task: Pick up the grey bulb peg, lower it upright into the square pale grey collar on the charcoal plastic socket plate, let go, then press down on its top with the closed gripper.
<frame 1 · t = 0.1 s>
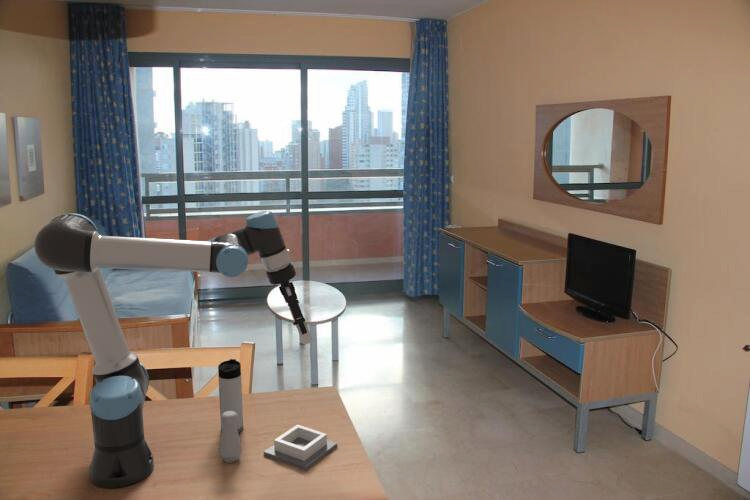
hand: (304, 334, 180), 28 cm above the table, tool tilted 20°, fingers open, 13 cm apart
grey bulb peg: (231, 459, 168), on the table
socket: (301, 450, 172), on the table
travel mug: (232, 429, 184), on the table
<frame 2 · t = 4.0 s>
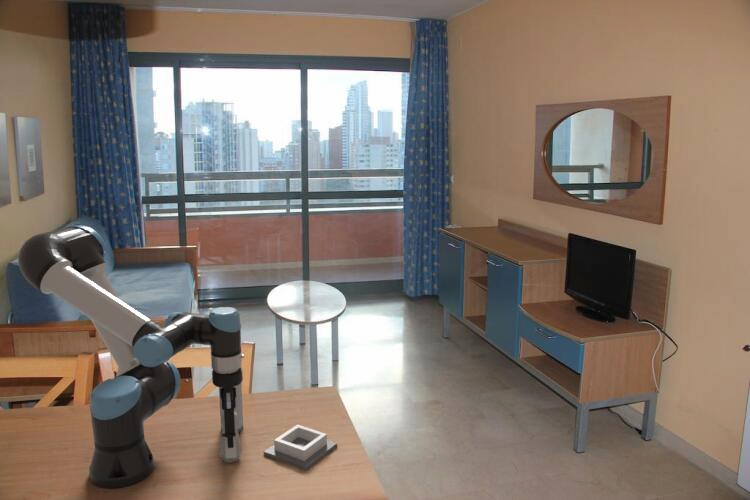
hand: (230, 450, 168), 2 cm above the table, tool pointing down, fingers closed on grey bulb peg, 6 cm apart
grey bulb peg: (231, 459, 168), on the table, touching gripper
everything else where it was.
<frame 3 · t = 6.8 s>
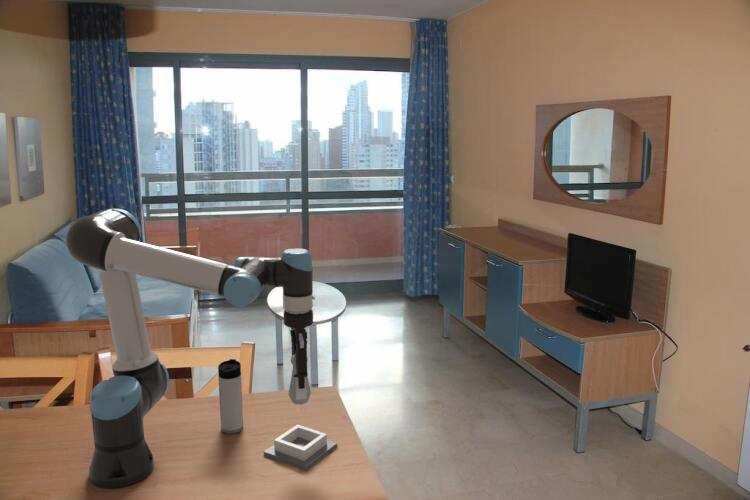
hand: (299, 393, 169), 17 cm above the table, tool pointing down, fingers closed on grey bulb peg, 6 cm apart
grey bulb peg: (300, 401, 169), point 14 cm above the table, touching gripper
everything else where it was.
when the fingers open (5 cm above the table, at t = 9.6 s): grey bulb peg drops 1 cm, resting on socket.
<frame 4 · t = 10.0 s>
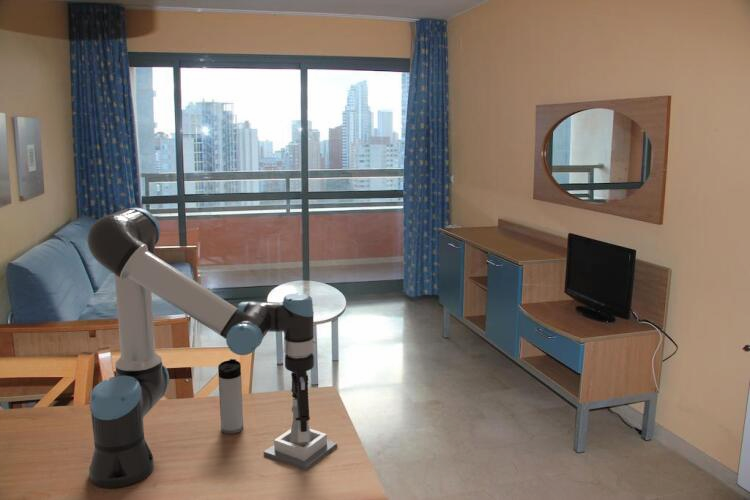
hand: (300, 430, 171), 6 cm above the table, tool pointing down, fingers open, 10 cm apart
grey bulb peg: (300, 447, 172), point 1 cm above the table, touching socket
everything else where it was.
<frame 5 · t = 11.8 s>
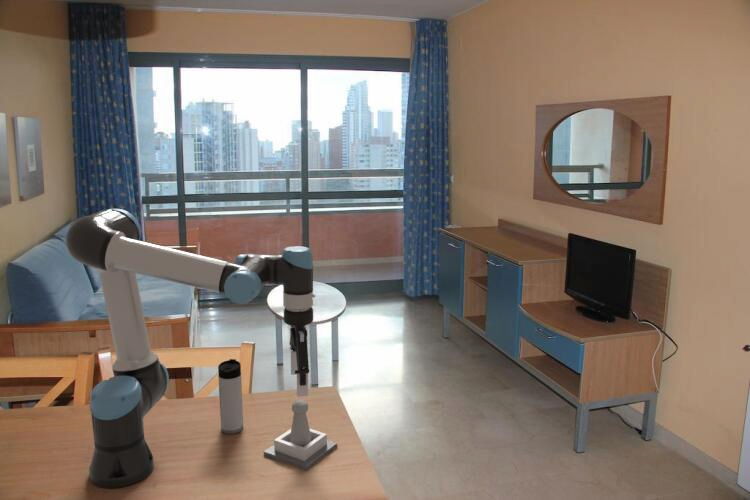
hand: (299, 384, 168), 19 cm above the table, tool pointing down, fingers open, 13 cm apart
nothing on the table moved.
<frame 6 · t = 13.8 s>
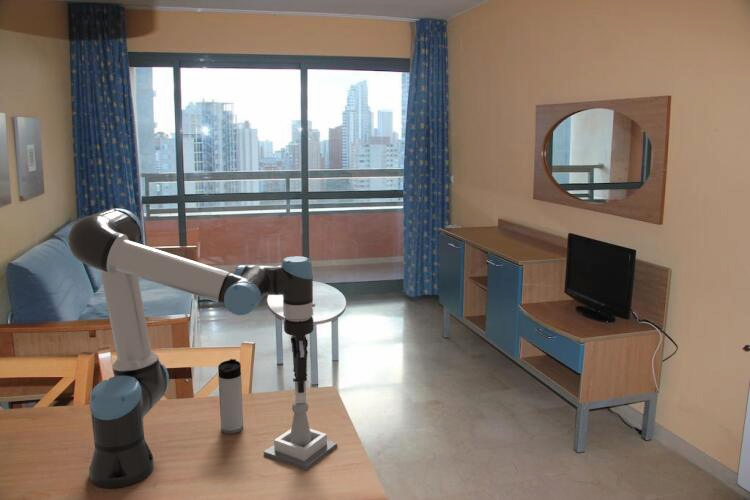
hand: (300, 401, 169), 14 cm above the table, tool pointing down, fingers closed
grey bulb peg: (300, 447, 172), point 1 cm above the table, touching gripper, socket
everything else where it was.
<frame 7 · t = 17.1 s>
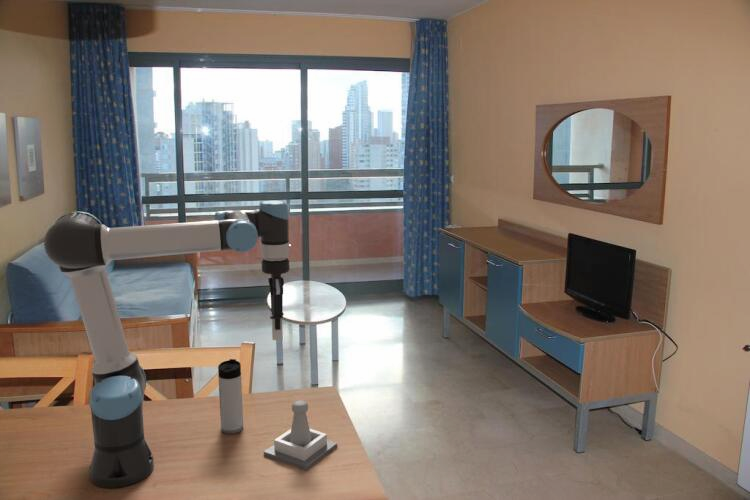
hand: (277, 338, 180), 26 cm above the table, tool pointing down, fingers closed
grey bulb peg: (300, 447, 172), point 1 cm above the table, touching socket
everything else where it was.
at the end: grey bulb peg 0.1 cm off-centre on the socket, point 0.8 cm above the socket's base; grey bulb peg tilted 0°; the gripper is holding nothing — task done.
